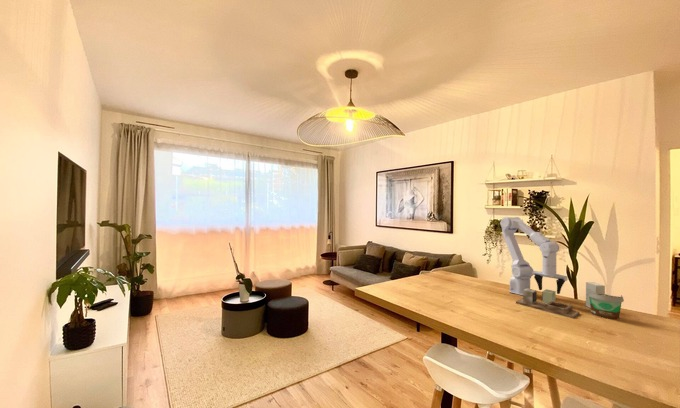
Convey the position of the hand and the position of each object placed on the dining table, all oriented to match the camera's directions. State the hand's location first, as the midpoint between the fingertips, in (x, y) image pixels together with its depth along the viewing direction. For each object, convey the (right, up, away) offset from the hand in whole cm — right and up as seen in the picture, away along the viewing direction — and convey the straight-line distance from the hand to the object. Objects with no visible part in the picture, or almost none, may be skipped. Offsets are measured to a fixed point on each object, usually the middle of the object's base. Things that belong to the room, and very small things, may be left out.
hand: (549, 291), depth 142 cm
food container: (+12, -6, -18) cm, 23 cm away
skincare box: (+17, -6, -7) cm, 19 cm away
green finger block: (0, -6, 0) cm, 6 cm away
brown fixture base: (-8, -6, -8) cm, 13 cm away
